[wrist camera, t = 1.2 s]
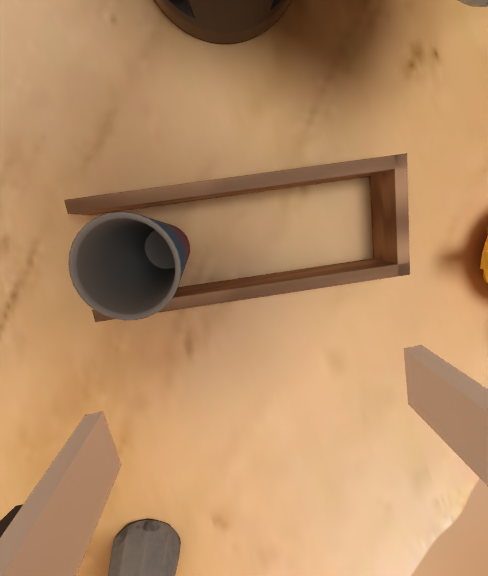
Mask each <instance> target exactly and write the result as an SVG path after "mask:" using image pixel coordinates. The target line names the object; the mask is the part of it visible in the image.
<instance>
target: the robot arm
mask: <svg viewBox="0 0 488 576" xmlns="http://www.w3.org/2000/svg"><path fill="white" fill-rule="evenodd" d="M155 1H156V3H157V4H158V6H159V7H160V8H161V10H162V11H163V12H164V13H165V15H166V16H167V17H168V18H169V19H170V20H171V21H172V22H173V23H175V24H176V25H177V26H178V27H180V28H181V29H182V30H184V31H185V32H187V33H189V34H190V35H192V36H194V37H197V38H199V39H202V40H205V41H209V42H213V43H222V44H229V43H237V42H242V41H246V40H249V39H251V38H253V37H256V36H258V35H259V34H261V33H263V32H264V31H266V30H267V29H268V28H270V27H271V26H272V25H273V24H274V23H275V22H276V21H277V20H278V19H279V18H280V17H281V16H282V14H283V13H284V12H285V10H286V9H287V7H288V5H289V4H290V2H291V0H155ZM458 1H460V2H462V3H464V4H466V5H469V6H473V7H487V6H488V0H458ZM404 357H405V369H406V382H407V394H408V404H409V405H410V406H411V407H412V408H413V409H414V410H415V412H416V413H417V414H418V415H419V416H420V417H421V418H422V419H423V420H424V421H425V422H426V423H427V424H428V425H429V426H430V427H431V428H432V429H433V430H434V431H435V432H436V433H437V434H438V435H439V436H440V437H441V438H442V439H443V440H444V441H445V442H446V444H447V445H448V446H449V447H450V448H451V449H452V450H453V451H454V452H455V453H456V454H457V455H458V456H459V457H460V458H461V459H462V460H463V461H464V462H465V463H466V464H467V465H468V466H469V467H470V468H471V469H472V470H473V471H474V472H475V473H476V474H477V476H478V477H479V478H480V479H481V480H482V481H483V482H484V483H485V484H486V485H487V486H488V389H487V388H485V387H484V386H482V385H481V384H479V383H478V382H476V381H475V380H473V379H472V378H470V377H469V376H467V375H466V374H464V373H463V372H461V371H460V370H458V369H457V368H455V367H454V366H452V365H451V364H449V363H448V362H446V361H445V360H443V359H442V358H440V357H439V356H437V355H436V354H434V353H433V352H431V351H430V350H428V349H427V348H425V347H424V346H422V345H418V346H414V347H409V348H404ZM120 467H121V462H120V459H119V456H118V453H117V450H116V447H115V444H114V442H113V439H112V436H111V433H110V430H109V427H108V424H107V421H106V418H105V416H104V413H103V412H98V413H93V414H88V415H85V416H84V418H83V419H82V421H81V422H80V424H79V425H78V426H77V428H76V429H75V431H74V432H73V434H72V435H71V437H70V438H69V439H68V441H67V442H66V444H65V445H64V447H63V448H62V450H61V451H60V452H59V454H58V455H57V457H56V458H55V460H54V461H53V462H52V464H51V465H50V467H49V468H48V470H47V471H46V473H45V474H44V475H43V477H42V478H41V480H40V481H39V483H38V484H37V486H36V487H35V488H34V490H33V491H32V493H31V494H30V496H29V497H28V499H27V500H26V501H25V503H24V504H23V505H18V506H15V507H14V508H13V509H12V510H11V511H10V512H9V513H8V514H7V515H6V516H5V517H4V518H3V519H2V520H1V521H0V576H76V574H77V572H78V569H79V567H80V565H81V562H82V560H83V557H84V555H85V552H86V550H87V547H88V545H89V543H90V540H91V538H92V535H93V533H94V530H95V528H96V526H97V523H98V521H99V518H100V516H101V513H102V511H103V509H104V506H105V504H106V501H107V499H108V496H109V494H110V492H111V489H112V487H113V484H114V482H115V479H116V477H117V475H118V472H119V470H120Z"/></svg>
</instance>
